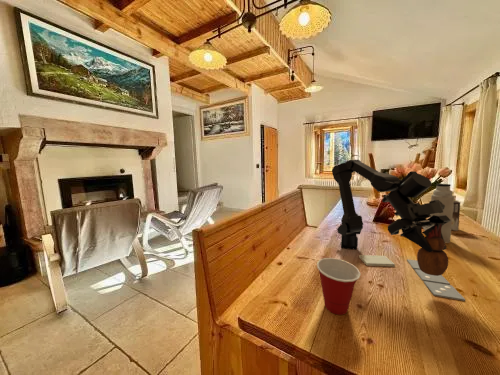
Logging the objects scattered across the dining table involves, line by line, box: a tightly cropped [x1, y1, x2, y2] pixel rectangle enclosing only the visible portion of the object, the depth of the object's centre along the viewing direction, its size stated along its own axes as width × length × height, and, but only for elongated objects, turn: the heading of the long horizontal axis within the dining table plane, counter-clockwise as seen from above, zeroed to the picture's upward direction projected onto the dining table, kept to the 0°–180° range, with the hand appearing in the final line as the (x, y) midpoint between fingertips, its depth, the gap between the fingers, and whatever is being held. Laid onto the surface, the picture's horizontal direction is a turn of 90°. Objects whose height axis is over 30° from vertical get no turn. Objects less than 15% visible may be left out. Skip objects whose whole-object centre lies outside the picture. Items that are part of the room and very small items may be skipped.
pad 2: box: [413, 269, 451, 285], centre depth 68 cm, size 7×7×1 cm
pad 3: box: [423, 281, 466, 302], centre depth 61 cm, size 7×7×1 cm
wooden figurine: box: [416, 224, 449, 276], centre depth 59 cm, size 7×6×15 cm
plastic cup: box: [316, 257, 362, 316], centre depth 54 cm, size 11×11×12 cm
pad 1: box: [406, 259, 420, 270], centre depth 75 cm, size 7×7×1 cm
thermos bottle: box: [429, 183, 455, 244], centre depth 98 cm, size 8×8×28 cm
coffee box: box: [451, 200, 461, 232], centre depth 115 cm, size 9×6×16 cm
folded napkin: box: [358, 254, 396, 268], centre depth 80 cm, size 10×7×1 cm
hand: (438, 250), depth 58 cm, fingers closed on wooden figurine, 5 cm apart
